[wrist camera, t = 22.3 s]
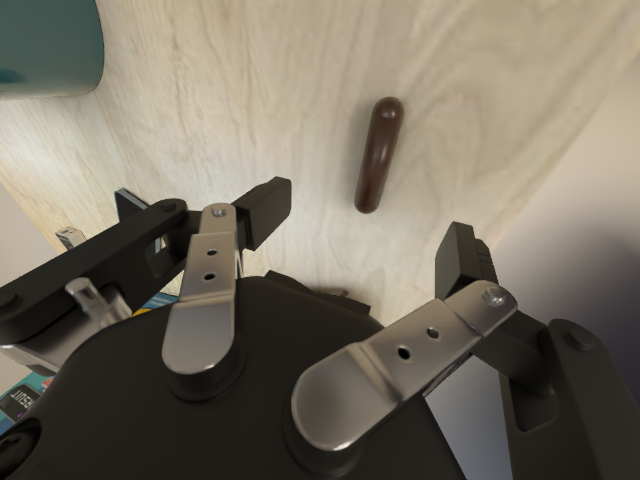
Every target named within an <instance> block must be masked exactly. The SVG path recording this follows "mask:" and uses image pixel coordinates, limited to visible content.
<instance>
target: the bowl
mask: <svg viewBox="0 0 640 480" xmlns="http://www.w3.org/2000/svg"><path fill="white" fill-rule="evenodd" d="M103 64H104V45H103V37H102V30H101V25H100V20H99V15H98V12H97V8H96V4H95V1H94V0H0V101H6V100H19V99H31V98H44V97H57V96H69V95H82V94H86V93H89V92H90V91H92V90H93V89H94V88H95V87H96V86H97V85H98V83H99V81H100V79H101V75H102V72H103Z"/></svg>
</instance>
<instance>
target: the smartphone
mask: <svg viewBox="0 0 640 480" xmlns="http://www.w3.org/2000/svg"><path fill="white" fill-rule="evenodd" d="M114 196H115V202H116V207H117V213H118V218H119V223H120V222H121V221H123V220H125V219H127V218H129V217H130V216H132V215H134V214H136V213H138V212H140V211H141V210H143V209H145V208H147V207H148V206H146V205H145V204H143V203H142V202H141V201H139V200H138V199H136V198H135V197H133V196H132V195H130V194H129V193H127V192H126V191H124V190H122V189H120V190H117V191H115V192H114ZM159 251H160V238H158V239H157V240H155V241H154V242H152V243H151V244H150V245H149V246H148V247H147V248H146V251H145V256H146V258H147V260H148V259H149V258H151V257H152V256H153V255H155V254H156V253H157V252H159Z"/></svg>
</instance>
